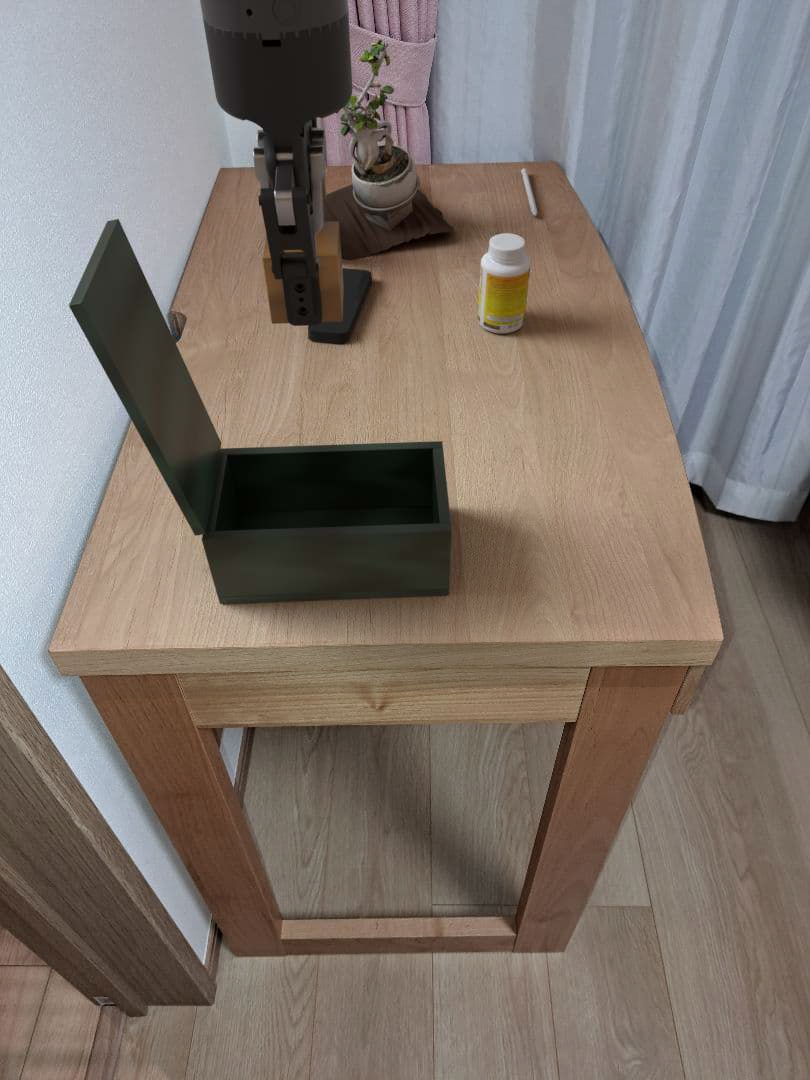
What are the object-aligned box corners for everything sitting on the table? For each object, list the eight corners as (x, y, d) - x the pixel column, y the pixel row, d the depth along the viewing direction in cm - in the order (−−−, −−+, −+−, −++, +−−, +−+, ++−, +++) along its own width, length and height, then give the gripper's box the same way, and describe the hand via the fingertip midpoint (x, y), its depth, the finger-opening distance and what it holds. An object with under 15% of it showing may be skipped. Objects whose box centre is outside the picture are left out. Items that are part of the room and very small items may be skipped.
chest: (440, 506, 77) (442, 440, 71) (449, 595, 69) (451, 530, 64) (233, 513, 76) (218, 448, 71) (219, 604, 69) (201, 539, 63)
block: (342, 322, 53) (337, 255, 50) (271, 324, 53) (261, 258, 50) (343, 285, 57) (339, 220, 53) (276, 287, 57) (267, 222, 53)
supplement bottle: (532, 329, 97) (542, 247, 89) (490, 340, 95) (496, 257, 88) (510, 306, 100) (517, 225, 93) (469, 316, 99) (473, 235, 92)
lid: (118, 218, 56) (106, 220, 56) (81, 303, 48) (68, 305, 48) (221, 443, 70) (212, 444, 70) (205, 534, 63) (194, 536, 63)
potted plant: (465, 252, 115) (442, 82, 93) (344, 310, 113) (292, 152, 92) (405, 173, 124) (371, 3, 102) (293, 226, 123) (234, 66, 101)
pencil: (531, 215, 115) (520, 170, 126) (534, 220, 116) (522, 174, 126) (536, 211, 115) (525, 166, 125) (539, 216, 116) (527, 171, 126)
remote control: (347, 348, 95) (374, 278, 105) (346, 335, 94) (373, 266, 104) (306, 344, 96) (336, 275, 106) (305, 331, 95) (335, 263, 104)
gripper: (218, -30, 47) (259, 250, 60) (181, 50, 37) (240, 365, 50) (349, -33, 47) (363, 247, 60) (346, 46, 38) (364, 361, 50)
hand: (307, 300), depth 55 cm, fingers closed on block, 4 cm apart
